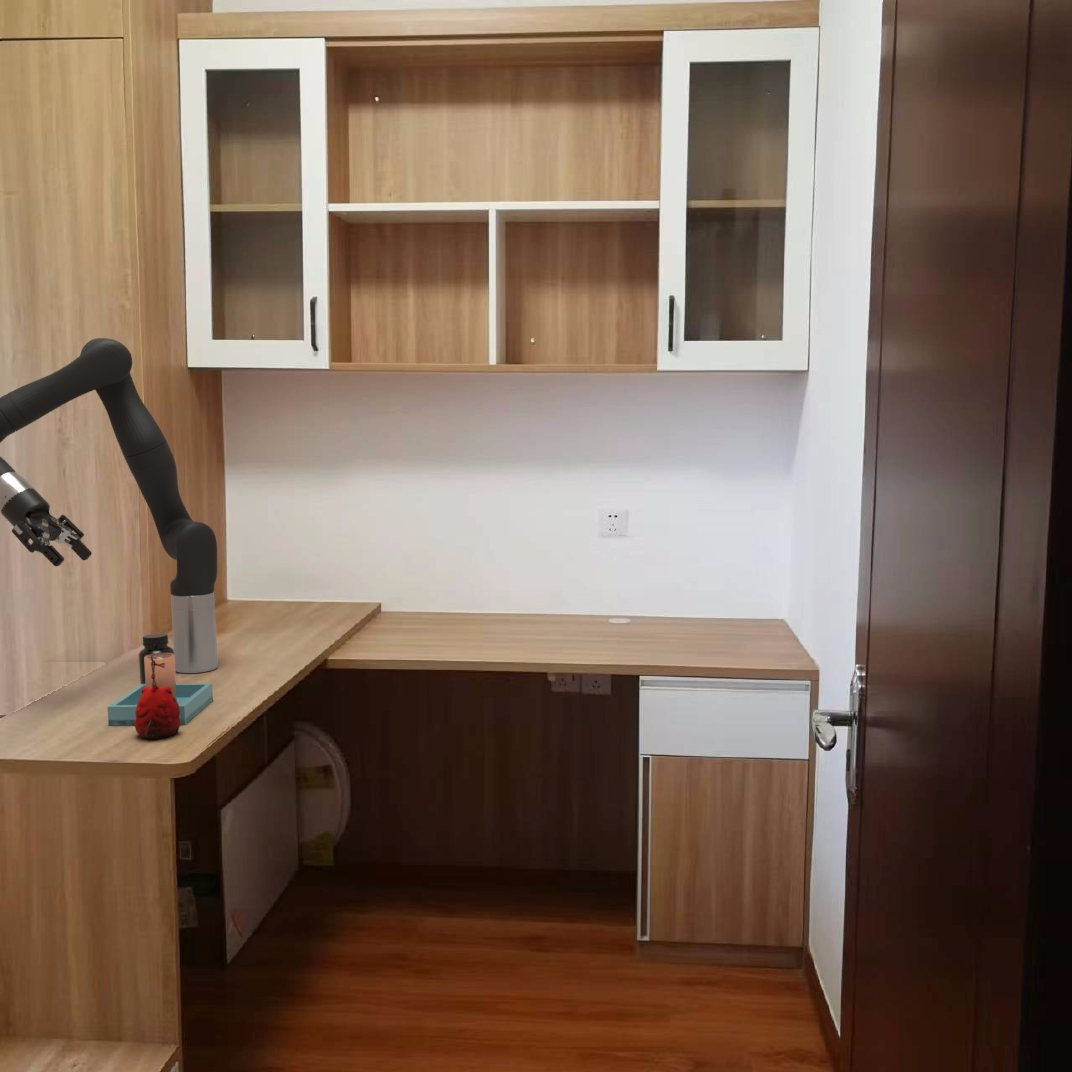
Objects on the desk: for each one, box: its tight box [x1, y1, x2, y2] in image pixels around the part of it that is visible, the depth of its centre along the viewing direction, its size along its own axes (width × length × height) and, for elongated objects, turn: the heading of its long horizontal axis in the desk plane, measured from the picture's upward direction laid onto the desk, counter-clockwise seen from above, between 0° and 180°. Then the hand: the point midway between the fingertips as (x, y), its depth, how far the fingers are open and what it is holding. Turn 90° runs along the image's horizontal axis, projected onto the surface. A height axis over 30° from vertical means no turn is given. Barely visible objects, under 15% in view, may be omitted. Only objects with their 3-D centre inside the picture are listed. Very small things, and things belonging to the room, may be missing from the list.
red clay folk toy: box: [134, 656, 181, 740], centre depth 178 cm, size 8×7×15 cm
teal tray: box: [107, 682, 214, 726], centre depth 192 cm, size 16×14×4 cm
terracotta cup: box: [144, 653, 177, 701], centre depth 192 cm, size 5×5×10 cm
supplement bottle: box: [138, 633, 174, 685], centre depth 206 cm, size 7×7×12 cm
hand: (74, 560), depth 195 cm, fingers open, 8 cm apart
